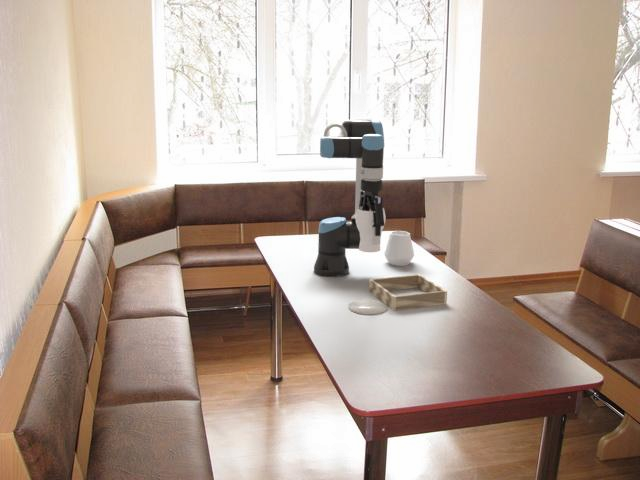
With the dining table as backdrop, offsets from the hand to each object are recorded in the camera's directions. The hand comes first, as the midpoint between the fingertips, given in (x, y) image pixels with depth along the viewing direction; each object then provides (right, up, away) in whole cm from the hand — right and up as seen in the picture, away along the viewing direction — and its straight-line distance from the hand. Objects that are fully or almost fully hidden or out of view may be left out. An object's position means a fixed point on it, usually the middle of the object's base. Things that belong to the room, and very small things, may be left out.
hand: (369, 240), depth 237 cm
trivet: (0, -25, +6) cm, 25 cm away
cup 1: (0, -4, +1) cm, 4 cm away
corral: (+16, -22, +18) cm, 32 cm away
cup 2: (+18, -10, +64) cm, 67 cm away
